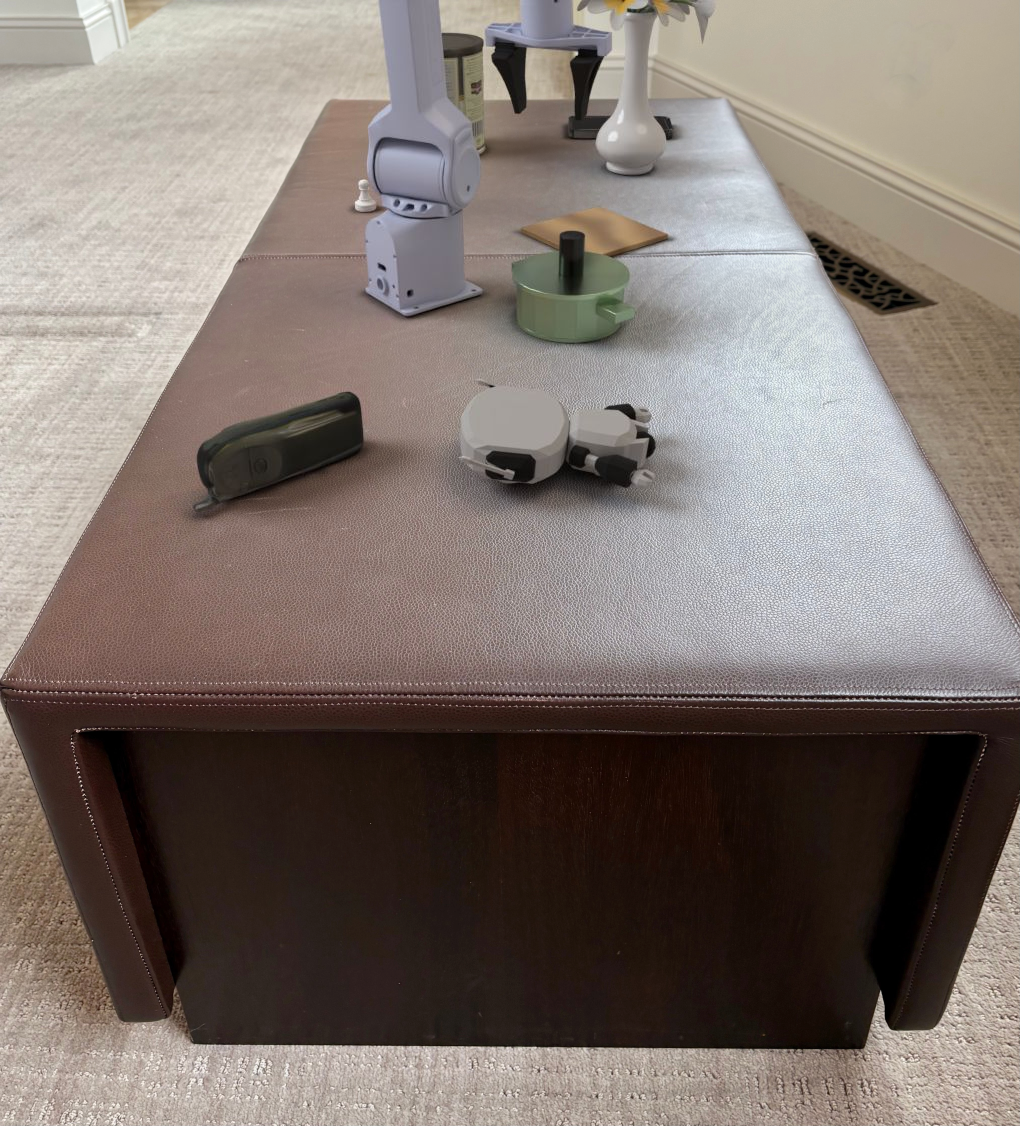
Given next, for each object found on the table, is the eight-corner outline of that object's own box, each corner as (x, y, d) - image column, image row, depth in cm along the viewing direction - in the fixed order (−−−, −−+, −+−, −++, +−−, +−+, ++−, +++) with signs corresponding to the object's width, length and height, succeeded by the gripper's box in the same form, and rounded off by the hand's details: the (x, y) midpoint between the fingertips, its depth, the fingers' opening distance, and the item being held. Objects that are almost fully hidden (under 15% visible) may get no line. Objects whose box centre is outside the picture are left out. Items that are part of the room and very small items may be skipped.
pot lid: (562, 317, 96) (564, 267, 93) (488, 279, 103) (488, 231, 100) (653, 287, 101) (657, 238, 98) (577, 252, 108) (579, 206, 106)
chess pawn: (351, 208, 130) (348, 179, 128) (369, 203, 132) (367, 175, 130) (362, 213, 129) (359, 184, 127) (380, 209, 130) (378, 180, 128)
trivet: (588, 263, 116) (588, 258, 116) (520, 232, 124) (520, 227, 123) (667, 239, 122) (668, 234, 121) (598, 211, 129) (598, 206, 129)
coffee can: (418, 138, 154) (413, 31, 146) (489, 140, 153) (487, 32, 145) (406, 159, 146) (399, 47, 138) (480, 161, 145) (478, 49, 137)
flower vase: (709, 183, 138) (734, -37, 123) (567, 183, 138) (574, -37, 123) (695, 153, 148) (716, -53, 133) (563, 153, 148) (569, -53, 133)
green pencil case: (346, 382, 84) (170, 443, 76) (368, 396, 82) (190, 459, 74) (350, 437, 87) (181, 502, 79) (372, 452, 85) (201, 519, 77)
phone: (673, 130, 153) (569, 129, 153) (673, 139, 153) (568, 138, 154) (669, 116, 159) (568, 115, 159) (668, 123, 160) (568, 122, 160)
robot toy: (648, 437, 88) (467, 419, 88) (656, 388, 85) (469, 370, 85) (652, 522, 78) (449, 501, 78) (662, 470, 75) (451, 449, 76)
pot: (581, 363, 97) (583, 318, 94) (480, 307, 107) (479, 264, 104) (662, 333, 102) (666, 289, 99) (559, 282, 112) (560, 241, 109)
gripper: (621, -21, 115) (620, 106, 125) (499, -29, 120) (507, 94, 129) (599, 0, 111) (600, 130, 120) (473, -8, 115) (483, 117, 125)
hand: (550, 113), depth 125 cm, fingers open, 7 cm apart
